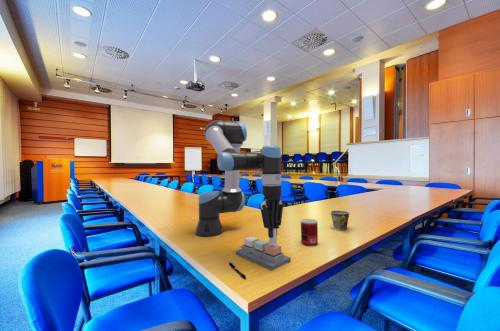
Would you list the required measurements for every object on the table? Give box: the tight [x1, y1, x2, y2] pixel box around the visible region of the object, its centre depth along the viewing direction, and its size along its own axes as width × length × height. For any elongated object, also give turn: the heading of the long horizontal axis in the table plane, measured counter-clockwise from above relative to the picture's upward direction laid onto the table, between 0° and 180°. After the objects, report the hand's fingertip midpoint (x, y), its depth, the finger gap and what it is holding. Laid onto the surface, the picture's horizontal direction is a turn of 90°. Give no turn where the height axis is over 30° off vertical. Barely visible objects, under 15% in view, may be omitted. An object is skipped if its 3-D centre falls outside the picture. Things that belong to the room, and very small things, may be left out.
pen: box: [228, 261, 247, 281], centre depth 79 cm, size 14×2×1 cm, turn 28°
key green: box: [254, 239, 269, 251], centre depth 90 cm, size 4×4×2 cm
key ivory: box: [243, 235, 260, 247], centre depth 94 cm, size 4×4×2 cm
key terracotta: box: [265, 244, 282, 256], centre depth 85 cm, size 4×4×2 cm
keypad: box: [235, 243, 291, 271], centre depth 90 cm, size 21×11×4 cm, turn 43°
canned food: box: [300, 218, 319, 247], centre depth 105 cm, size 8×8×11 cm
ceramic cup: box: [330, 210, 350, 232], centre depth 126 cm, size 13×10×10 cm
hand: (273, 244), depth 85 cm, fingers closed
